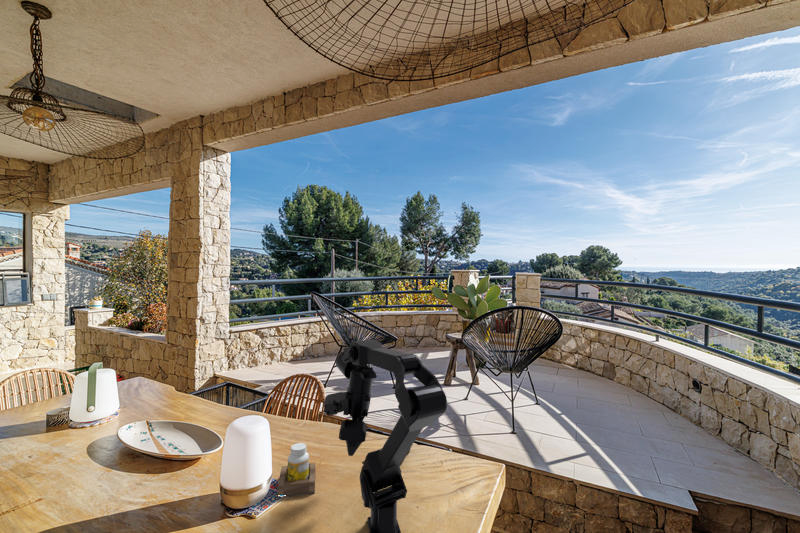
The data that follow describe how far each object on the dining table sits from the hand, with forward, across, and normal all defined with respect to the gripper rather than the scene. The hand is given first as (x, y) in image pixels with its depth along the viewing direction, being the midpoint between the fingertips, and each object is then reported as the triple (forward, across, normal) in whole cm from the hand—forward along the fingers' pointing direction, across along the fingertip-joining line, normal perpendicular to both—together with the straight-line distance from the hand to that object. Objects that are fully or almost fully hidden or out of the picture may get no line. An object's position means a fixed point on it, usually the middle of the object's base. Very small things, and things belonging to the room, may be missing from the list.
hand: (352, 443), depth 90 cm
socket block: (+14, +1, -13) cm, 19 cm away
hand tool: (+14, -13, +14) cm, 24 cm away
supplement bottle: (+13, +1, -13) cm, 18 cm away
